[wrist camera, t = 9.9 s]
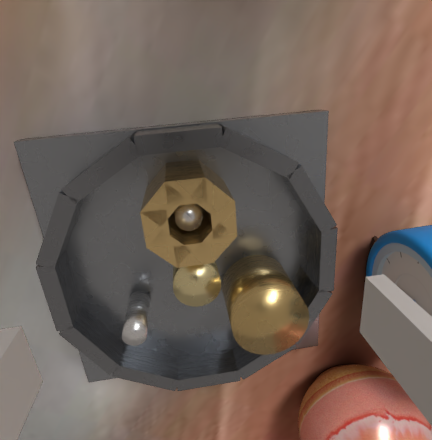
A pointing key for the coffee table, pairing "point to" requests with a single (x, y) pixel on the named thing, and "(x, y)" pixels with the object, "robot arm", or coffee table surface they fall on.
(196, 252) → the octagonal brass tube
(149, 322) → the carrier
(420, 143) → the coffee table surface
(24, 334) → the robot arm
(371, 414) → the vase
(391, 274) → the alarm clock
